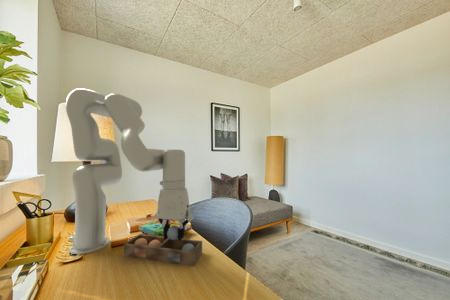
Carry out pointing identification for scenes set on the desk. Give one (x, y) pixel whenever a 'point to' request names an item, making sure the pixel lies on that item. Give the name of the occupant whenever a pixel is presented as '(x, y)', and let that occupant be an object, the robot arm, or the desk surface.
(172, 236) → the slate ball
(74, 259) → the desk surface
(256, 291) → the desk surface
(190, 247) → the blue-grey ball
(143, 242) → the tan rounded piece
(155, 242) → the terracotta ball
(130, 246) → the divided wooden box
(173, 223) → the puzzle game
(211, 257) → the desk surface
